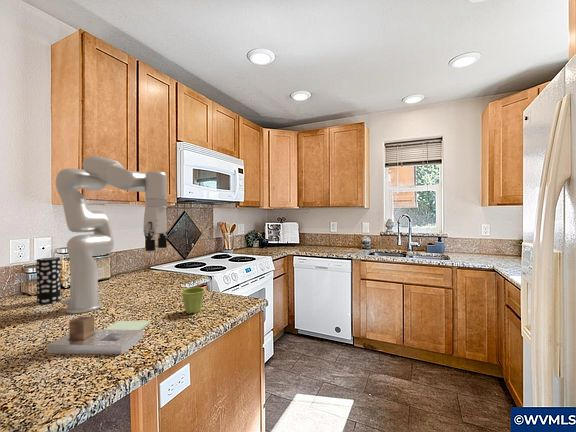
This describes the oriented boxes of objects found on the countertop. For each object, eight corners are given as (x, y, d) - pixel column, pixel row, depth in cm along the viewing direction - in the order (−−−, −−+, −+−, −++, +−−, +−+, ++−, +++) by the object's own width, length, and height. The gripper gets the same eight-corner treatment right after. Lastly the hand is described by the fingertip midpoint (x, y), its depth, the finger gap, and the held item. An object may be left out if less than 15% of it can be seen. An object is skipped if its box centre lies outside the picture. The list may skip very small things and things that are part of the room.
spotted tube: (32, 303, 129) (32, 259, 129) (53, 298, 136) (53, 257, 136) (43, 305, 126) (43, 260, 126) (64, 300, 133) (64, 258, 133)
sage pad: (101, 333, 96) (101, 330, 96) (118, 323, 105) (118, 320, 105) (136, 333, 95) (136, 331, 95) (150, 323, 104) (150, 321, 104)
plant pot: (191, 316, 111) (191, 294, 111) (176, 312, 116) (176, 291, 116) (209, 310, 119) (209, 289, 119) (194, 306, 124) (194, 286, 124)
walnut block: (69, 348, 85) (69, 321, 85) (80, 341, 90) (80, 316, 90) (83, 348, 85) (83, 321, 85) (94, 341, 89) (94, 316, 89)
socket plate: (47, 353, 82) (47, 344, 82) (77, 336, 93) (77, 329, 93) (121, 354, 81) (121, 345, 81) (142, 337, 92) (142, 329, 92)
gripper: (157, 205, 116) (157, 246, 116) (134, 203, 99) (134, 252, 99) (175, 205, 116) (175, 246, 116) (155, 203, 99) (155, 252, 99)
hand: (156, 249), depth 108 cm, fingers open, 9 cm apart
